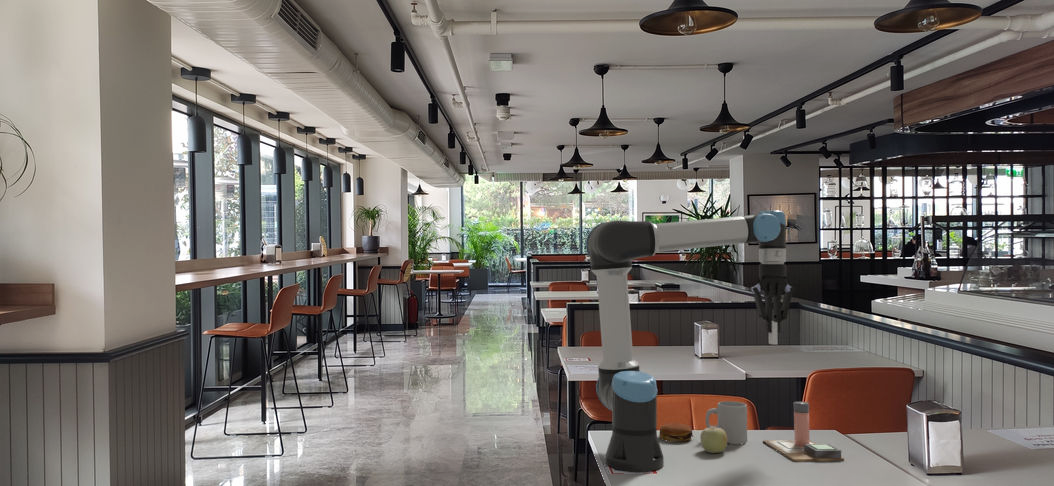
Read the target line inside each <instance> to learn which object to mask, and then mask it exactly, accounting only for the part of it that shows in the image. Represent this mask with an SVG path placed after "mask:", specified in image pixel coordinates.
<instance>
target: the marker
mask: <svg viewBox="0 0 1054 486" xmlns="http://www.w3.org/2000/svg"><path fill="white" fill-rule="evenodd" d="M793 423H794V424H793V425H794V427H793V428H794V430H793V431H794V440H795V445H796V446H800V447H804V444H810V441H811V440H810V404H809V402H807V401H806V402H805V401H793Z"/></svg>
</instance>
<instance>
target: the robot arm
mask: <svg viewBox="0 0 1054 486" xmlns="http://www.w3.org/2000/svg"><path fill="white" fill-rule="evenodd" d="M786 222H787V219H786V213H785V212H784V211H783V210H761V211H759V213H758V214H751V215H742V216H741V215H740V216H728V217H716V218H715V217H714V218H708V219H707V218H706V219H695V220H686V221H674V222H662V223H661V222H659V223H653V222H652V221H651V220H643V221H635V220H634V221H633V220H632V221H631V220H630V221H629V220H611V221H605V222H601V223H598V224H596V225H595V226H594V227H593V228H592V229H591V230H590V231H589V232H588V234H587V236H586V240H585V249H586V252H587V254H588V257H589V259H590V261H589V262H590V270H591V273H593V274H594V275H595V276H596V282H597V295H598V297H597V298H598V309H599V312H598V313H599V321H600V338H601V350H602V360H601V362H600V363H599V364H598V365H597V368H598V371H597V372H598V378H597V380H596V384H595V388H596V390H595V391H596V394H597V396H598V399H599V401H600V402H601V404H602V406H604V407H605V408H606V409H608V410H609V411H611V413H612V414H611V416H612V417H611V418H612V420H611V421H612V425H611V426H612V427H611V429H612V432H611V437H610V439H609V443H608V446H607V449H606V453H605V464H606V466H608V467H610V468H613V469H616V470H621V471H626V472H651V471H656V470H659V469H661V468H663V467H664V463H665V462H664V454H663V450H662V448H661V444H660V442H659V438H658V433H657V432H658V431H657V429H658V428H657V426H658V425H657V423H658V421H657V417H658V416H657V414H658V411H657V410H658V408H657V407H658V406H657V405H658V400H657V397H658V388H657V380H656V378H655V377H654V376H653V375H652V374H649V373H647V372H642V371H641V370H640V363H639V362H638V361H636V360H635V358H634V351H633V339H632V338H633V337H632V336H633V335H632V325H631V312H630V298H629V297H630V296H629V283H628V273H629V272H630V271H631V270H632V269H633V265H632V264H633V263H632V261H633V260H636V259H641V258H649V257H653V256H655V254H656V253H659V252H661V253H662V252H670V251H679V250H680V251H681V250H688V249H689V250H690V249H699V248H701V249H702V248H708V247H709V248H711V247H718V246H719V247H720V246H730V245H741V244H758V262H759V263H760V264H759V265H758V276H759V279H758V281H757V284H756V285H754V286H751V287H750V288H749V289H750V290H749V291H750V292H751V293H752V294H753V297H754V302H755V307H756V309H757V314H758V318H759V319H760V320H763V321H764V322H765V332H766V333H768V344H770V345H778V344H779V343H778V334H780V333H781V323H782V321H784V320H787V319H788V315H789V309H790V306H791V300H792V296H793V294H794V293H795V291H796V287H795V286H791V285H789V283H788V280H787V265H786V264H785V263H786V262H787V248H786V246H787V239H786V238H787V223H786ZM761 291H762V293H763V297H764V302H763V297H762V294H761ZM782 293H784V295H783V297H782Z"/></svg>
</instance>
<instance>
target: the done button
mask: <svg viewBox="0 0 1054 486" xmlns="http://www.w3.org/2000/svg"><path fill="white" fill-rule="evenodd" d="M824 444H825V445H810V446H811V447H813V448H815V449H817V450H835V449H834V448H832V447H830V446H828V445H826V444H827V443H824Z"/></svg>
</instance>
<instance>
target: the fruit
mask: <svg viewBox="0 0 1054 486" xmlns="http://www.w3.org/2000/svg"><path fill="white" fill-rule="evenodd" d="M712 426H713V427H709V428H707V427H706V428H704V429H703V430H702V431H701V433H700V443H701V446H702V448H703V449H704V450H705V451H706V452H707V453H709V454H716V453H717V454H718V453H721V452H724V451H725V449H726V448H727V446H728V444H727V441H728V439H727V434H726V432H725V431H724V430H723V429H721V428H717V427H714V426H716V423H714V424H712Z"/></svg>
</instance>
